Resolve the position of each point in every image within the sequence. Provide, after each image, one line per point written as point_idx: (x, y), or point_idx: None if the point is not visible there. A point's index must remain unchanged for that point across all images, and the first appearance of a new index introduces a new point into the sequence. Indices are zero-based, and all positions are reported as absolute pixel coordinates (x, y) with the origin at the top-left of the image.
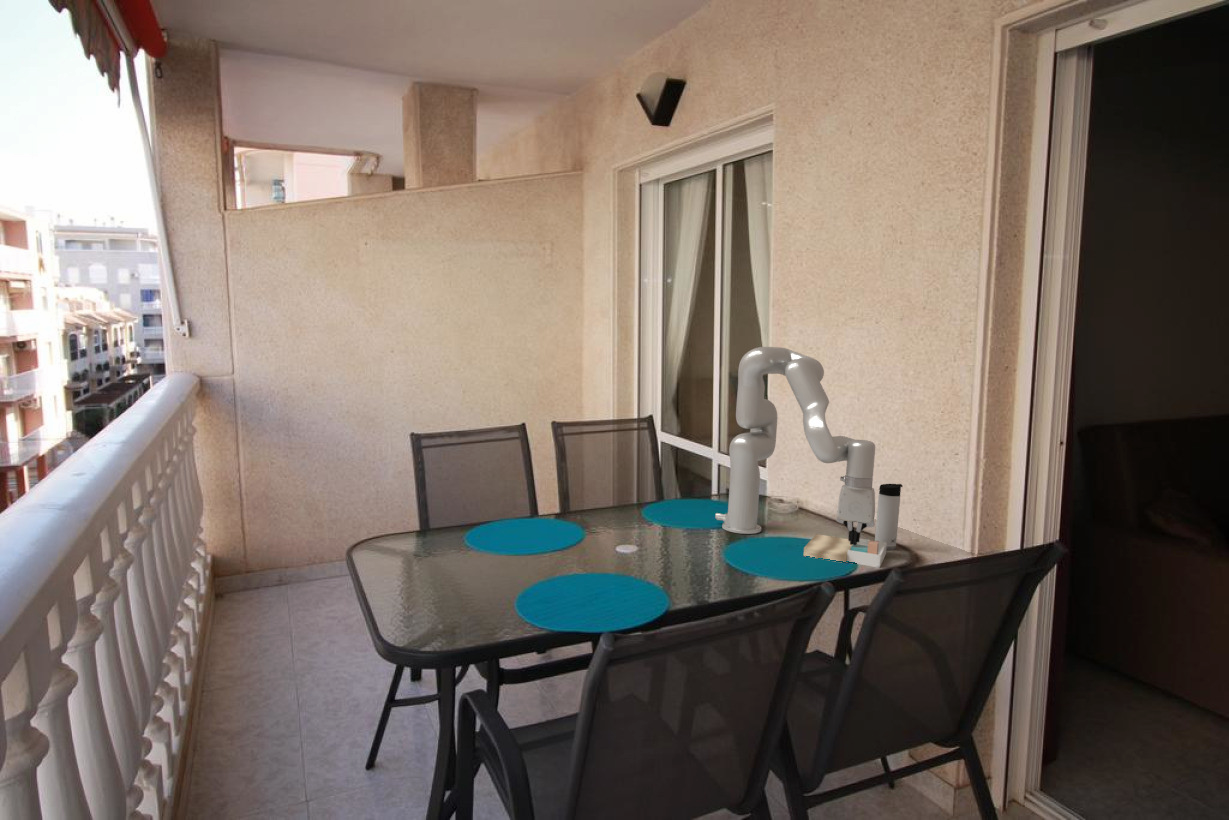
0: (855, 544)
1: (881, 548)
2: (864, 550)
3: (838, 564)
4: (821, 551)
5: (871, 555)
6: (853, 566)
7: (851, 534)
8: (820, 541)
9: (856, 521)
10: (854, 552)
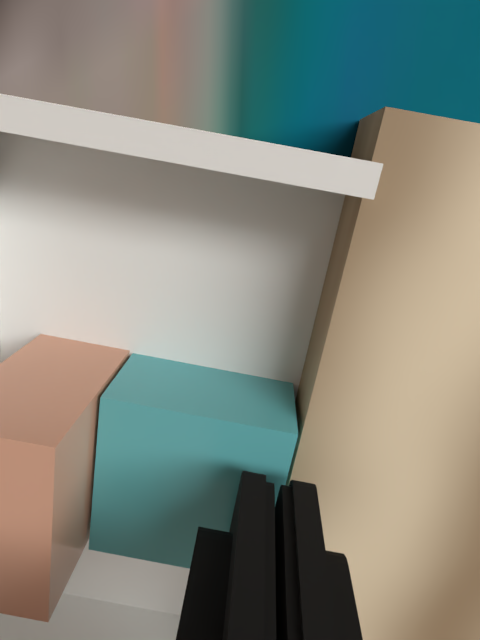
0: (244, 475)
1: (6, 617)
2: (136, 397)
3: (463, 14)
4: None
5: (14, 96)
6: (277, 11)
7: (322, 609)
8: None
9: None
10: (270, 146)
